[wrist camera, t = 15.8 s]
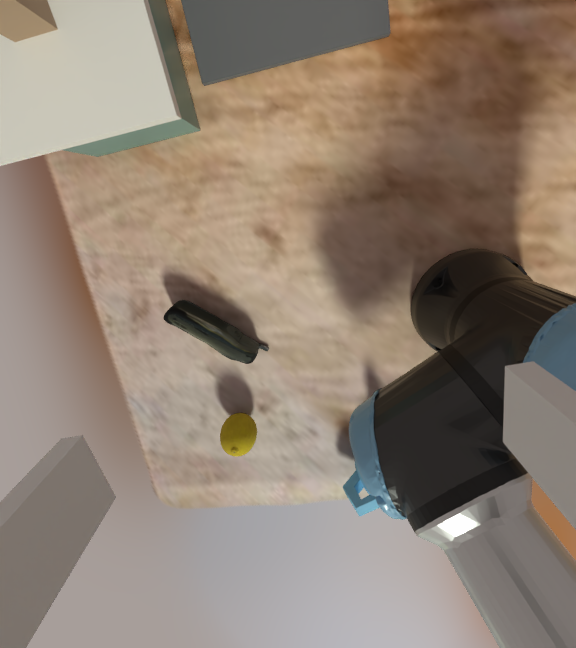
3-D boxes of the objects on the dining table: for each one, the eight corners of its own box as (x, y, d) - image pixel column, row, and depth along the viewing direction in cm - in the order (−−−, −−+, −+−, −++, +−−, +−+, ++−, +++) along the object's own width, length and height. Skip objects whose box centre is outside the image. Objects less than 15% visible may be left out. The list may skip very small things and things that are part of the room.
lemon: (219, 417, 55) (207, 452, 47) (241, 397, 53) (232, 430, 46) (244, 436, 56) (236, 473, 49) (266, 417, 55) (261, 452, 47)
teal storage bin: (148, -62, 33) (53, -225, 20) (200, 130, 40) (152, 99, 27) (29, -24, 35) (-131, -154, 22) (97, 156, 41) (4, 139, 28)
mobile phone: (159, 323, 44) (257, 375, 46) (167, 305, 43) (268, 358, 45) (173, 311, 49) (262, 359, 51) (181, 294, 48) (271, 343, 50)
